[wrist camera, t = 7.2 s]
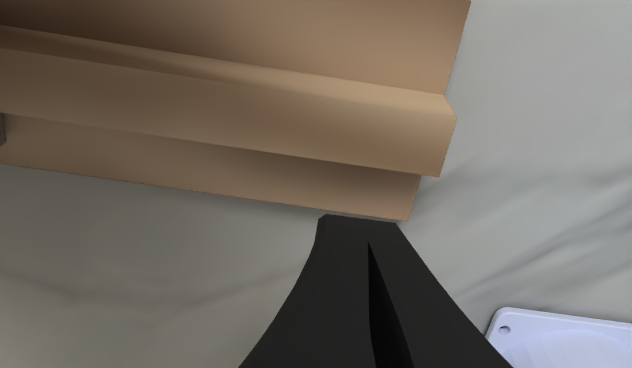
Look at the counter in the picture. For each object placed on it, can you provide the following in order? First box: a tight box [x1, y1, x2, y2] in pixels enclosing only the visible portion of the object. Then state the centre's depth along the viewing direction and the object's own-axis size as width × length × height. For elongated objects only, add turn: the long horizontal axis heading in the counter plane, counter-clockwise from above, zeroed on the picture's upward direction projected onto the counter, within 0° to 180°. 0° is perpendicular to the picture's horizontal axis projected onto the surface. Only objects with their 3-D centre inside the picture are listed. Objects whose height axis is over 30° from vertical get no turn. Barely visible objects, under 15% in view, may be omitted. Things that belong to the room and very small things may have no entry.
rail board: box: [0, 0, 471, 221], centre depth 16 cm, size 8×20×5 cm, turn 81°
